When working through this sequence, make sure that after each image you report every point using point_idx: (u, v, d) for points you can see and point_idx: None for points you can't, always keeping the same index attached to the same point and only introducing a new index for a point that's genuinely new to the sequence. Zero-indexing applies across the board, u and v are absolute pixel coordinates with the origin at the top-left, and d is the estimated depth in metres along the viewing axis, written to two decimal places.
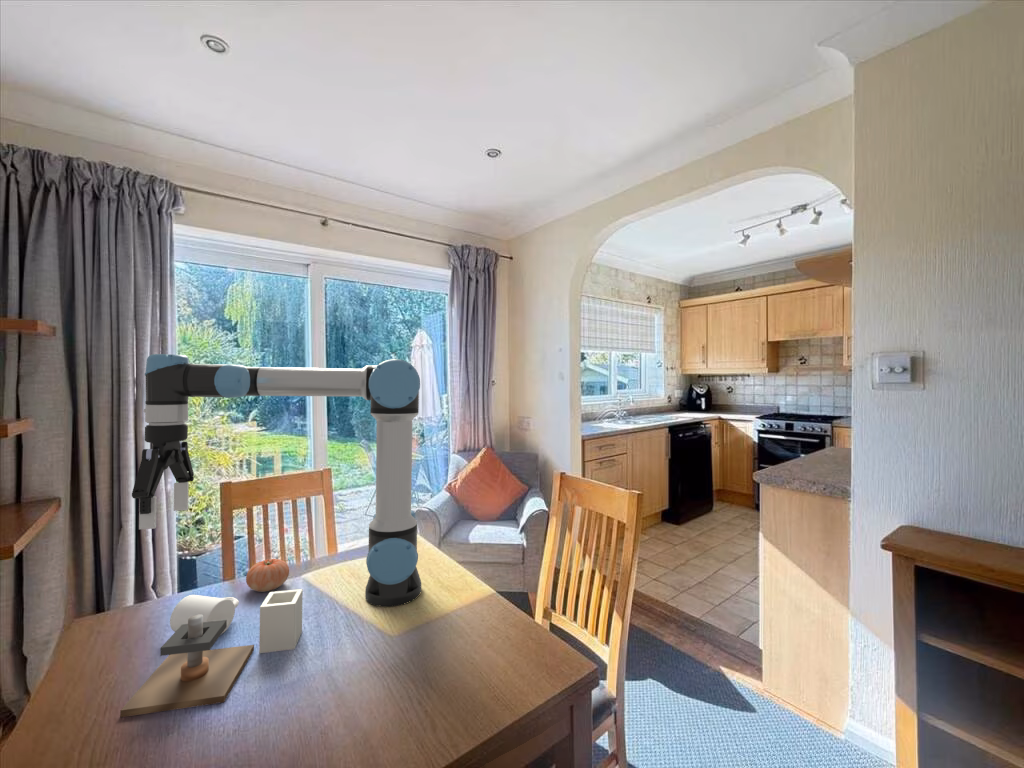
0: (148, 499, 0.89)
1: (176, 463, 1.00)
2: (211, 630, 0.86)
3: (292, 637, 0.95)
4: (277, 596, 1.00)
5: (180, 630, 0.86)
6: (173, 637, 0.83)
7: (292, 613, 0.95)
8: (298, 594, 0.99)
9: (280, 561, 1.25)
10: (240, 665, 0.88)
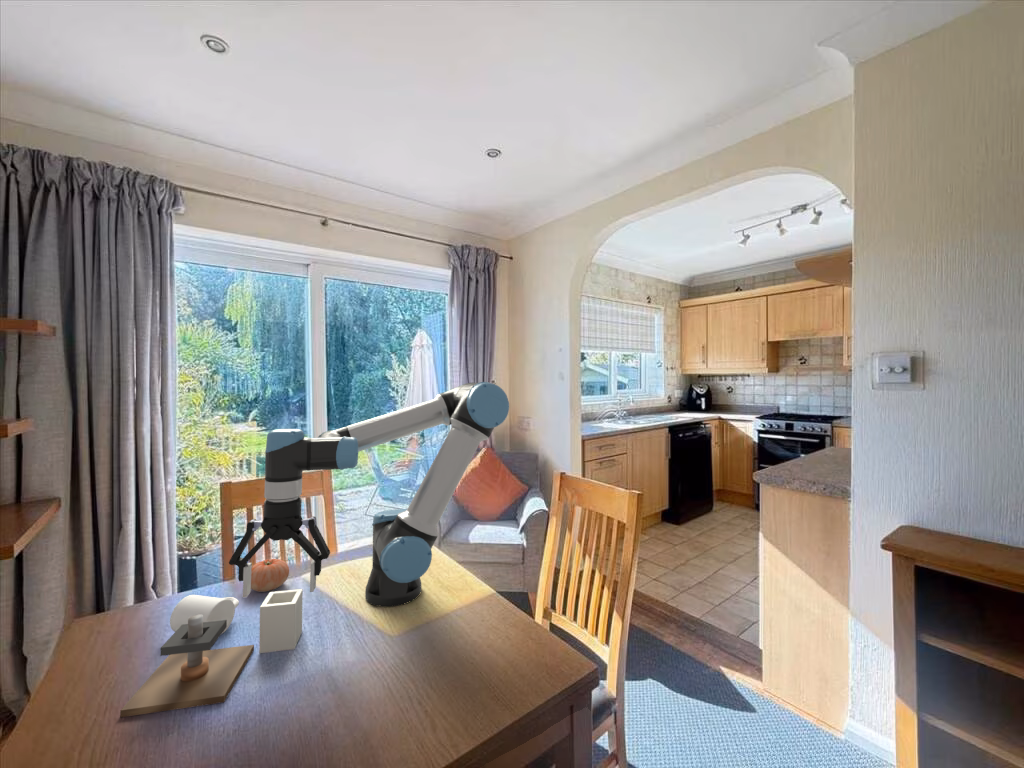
0: (239, 567, 0.95)
1: None
2: (211, 630, 0.86)
3: (292, 637, 0.95)
4: (277, 596, 1.00)
5: (180, 630, 0.86)
6: (173, 637, 0.83)
7: (292, 613, 0.95)
8: (298, 594, 0.99)
9: (280, 561, 1.25)
10: (240, 665, 0.88)
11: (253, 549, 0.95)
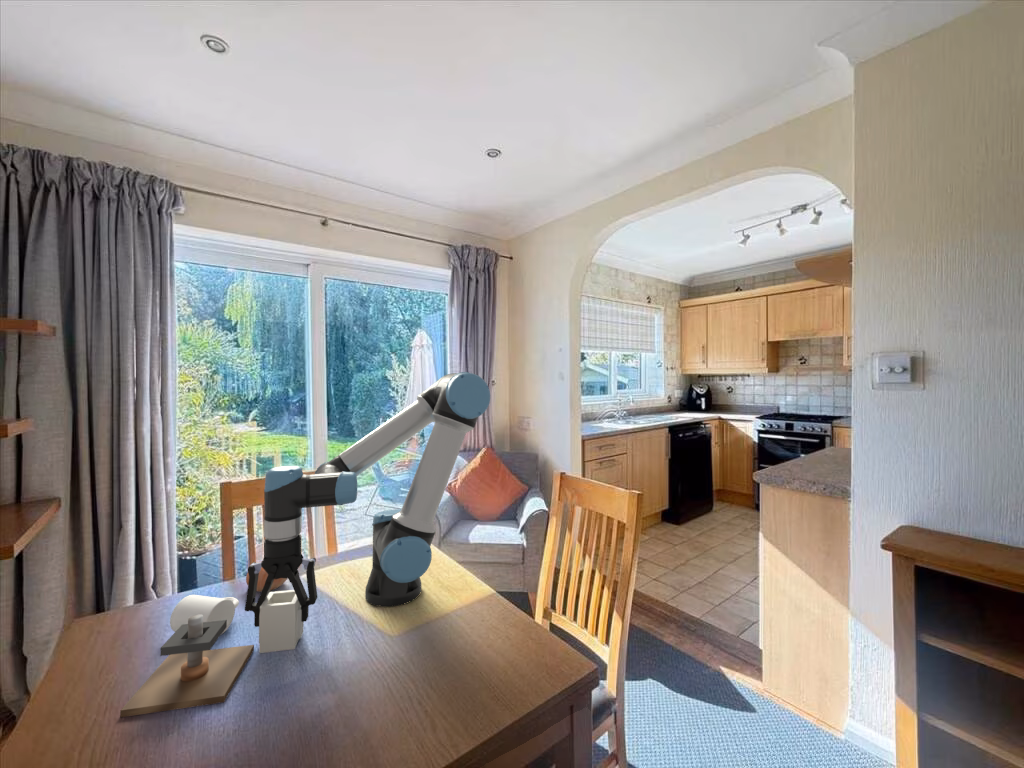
0: (255, 613, 0.96)
1: None
2: (211, 630, 0.86)
3: (292, 637, 0.95)
4: (277, 596, 1.00)
5: (180, 630, 0.86)
6: (173, 637, 0.83)
7: (292, 613, 0.95)
8: None
9: None
10: (240, 665, 0.88)
11: (262, 593, 0.96)
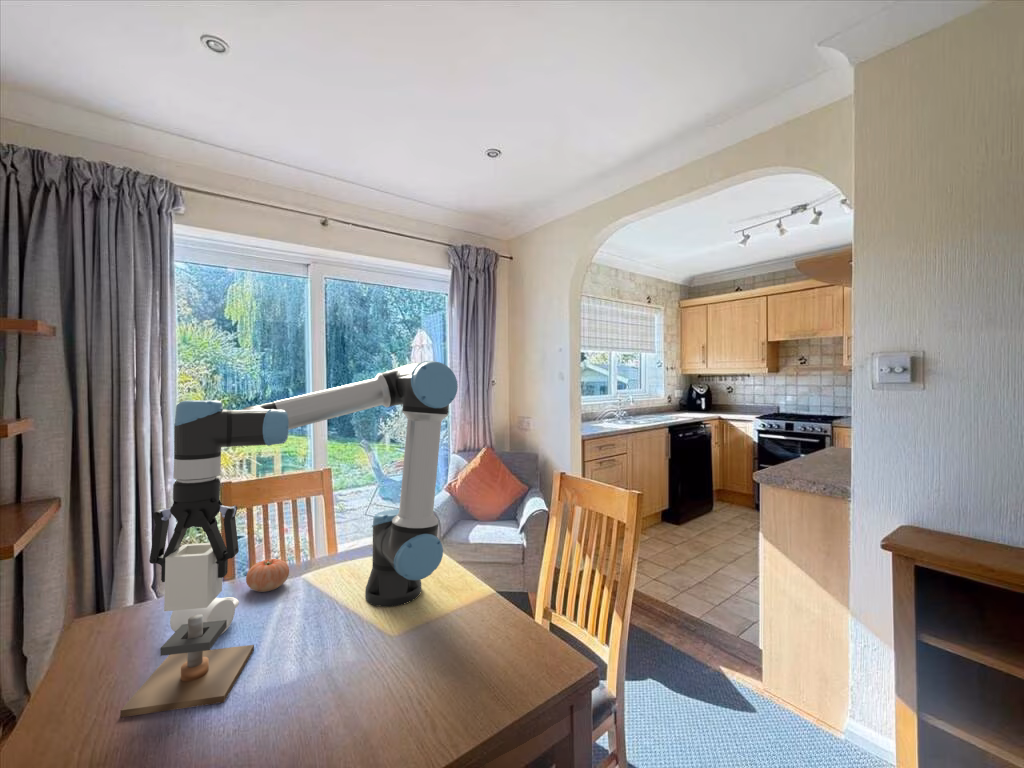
0: (162, 566, 0.83)
1: None
2: (211, 630, 0.86)
3: (204, 594, 0.82)
4: (192, 549, 0.87)
5: (180, 630, 0.86)
6: (173, 637, 0.83)
7: (204, 566, 0.82)
8: None
9: (280, 561, 1.25)
10: (240, 665, 0.88)
11: (171, 543, 0.83)
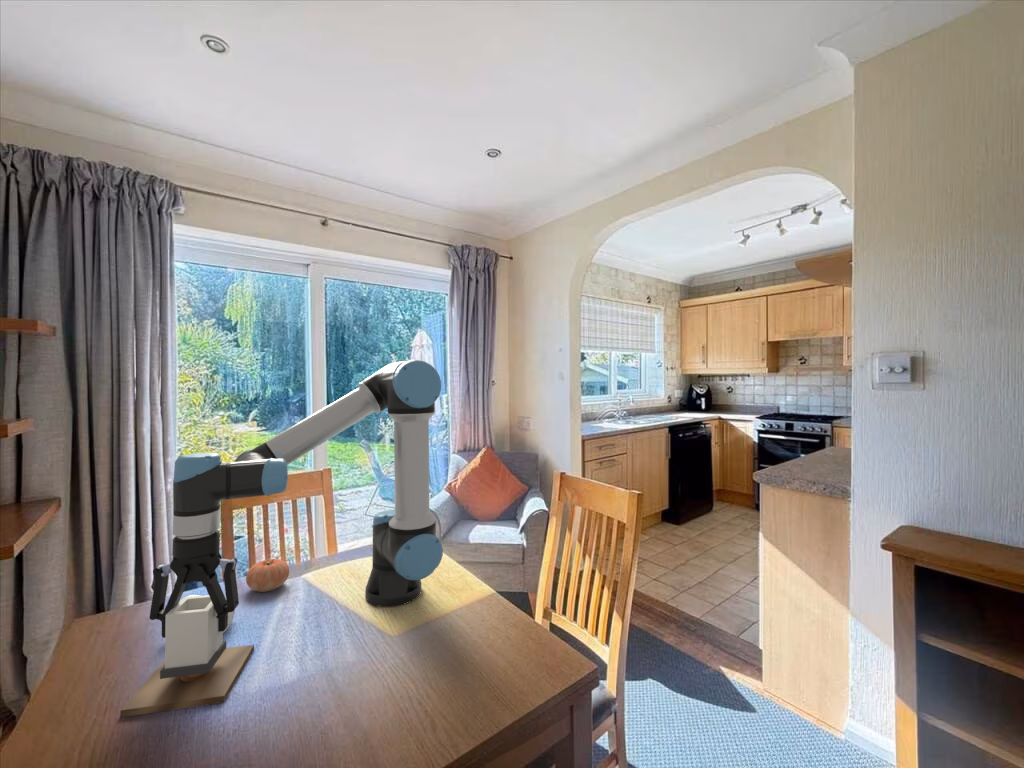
0: (163, 622, 0.83)
1: None
2: None
3: (204, 650, 0.82)
4: (192, 602, 0.87)
5: None
6: None
7: (204, 622, 0.82)
8: None
9: (280, 561, 1.25)
10: (240, 665, 0.88)
11: (171, 598, 0.83)
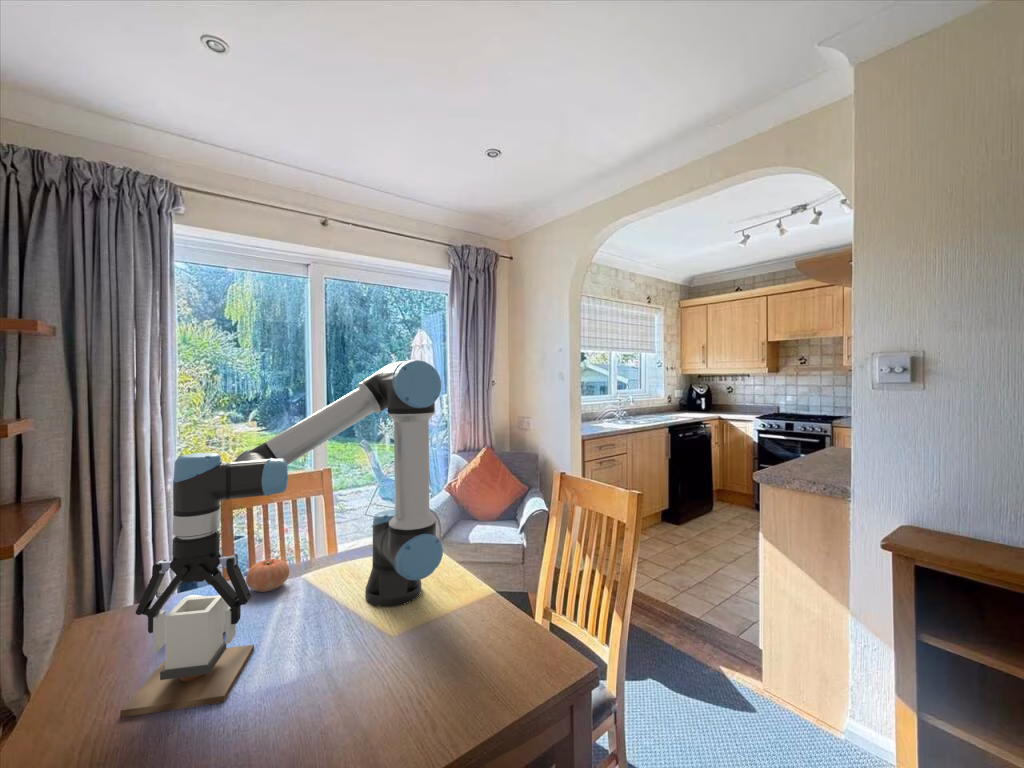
0: (149, 617, 0.82)
1: None
2: None
3: (204, 651, 0.82)
4: (192, 603, 0.87)
5: None
6: None
7: (204, 623, 0.82)
8: (216, 601, 0.87)
9: (280, 561, 1.25)
10: (240, 665, 0.88)
11: (163, 595, 0.83)
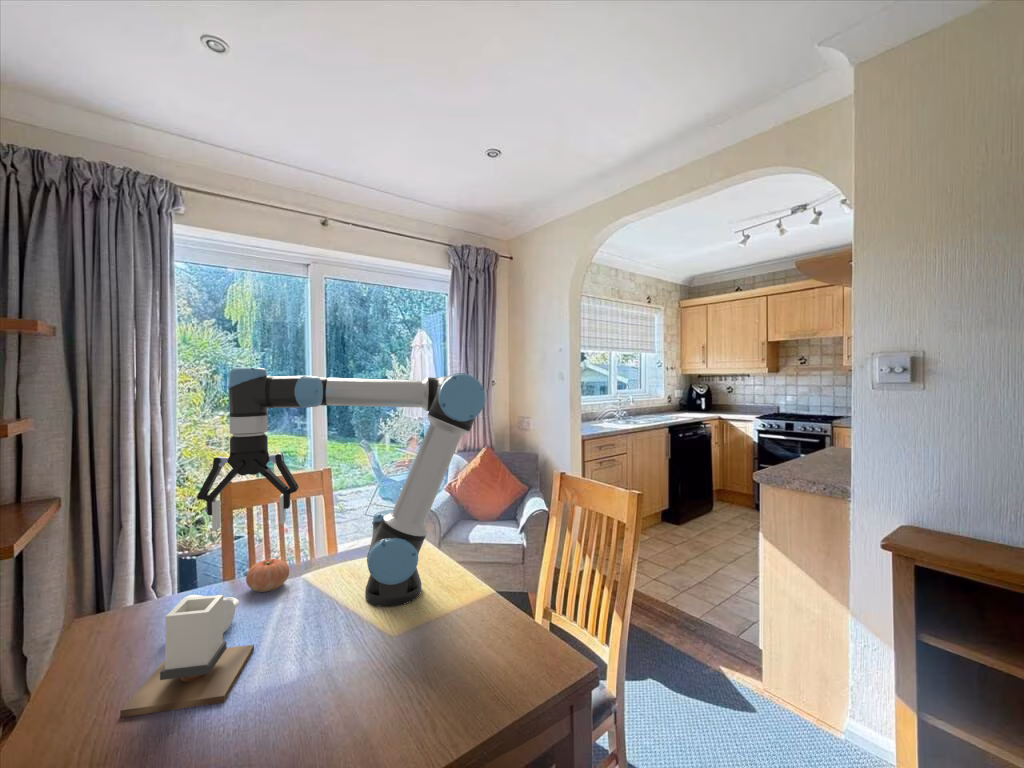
0: (208, 502, 0.97)
1: None
2: None
3: (204, 651, 0.82)
4: (192, 603, 0.87)
5: None
6: None
7: (204, 623, 0.82)
8: (216, 601, 0.87)
9: (280, 561, 1.25)
10: (240, 665, 0.88)
11: (221, 484, 0.98)
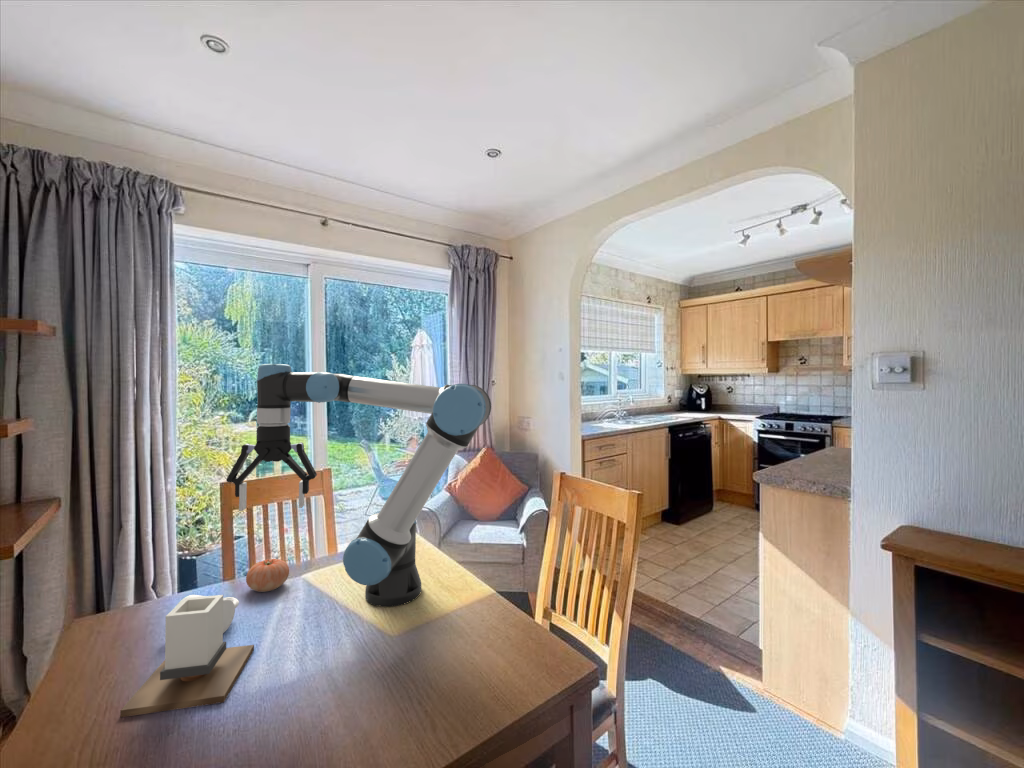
0: (236, 485, 1.07)
1: None
2: None
3: (204, 651, 0.82)
4: (192, 603, 0.87)
5: None
6: None
7: (204, 623, 0.82)
8: (216, 601, 0.87)
9: (280, 561, 1.25)
10: (240, 665, 0.88)
11: (247, 468, 1.08)
